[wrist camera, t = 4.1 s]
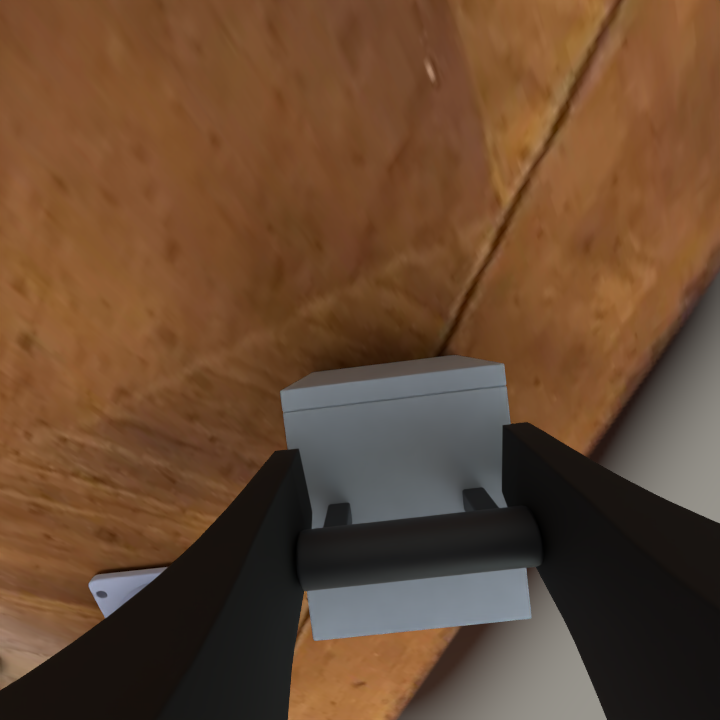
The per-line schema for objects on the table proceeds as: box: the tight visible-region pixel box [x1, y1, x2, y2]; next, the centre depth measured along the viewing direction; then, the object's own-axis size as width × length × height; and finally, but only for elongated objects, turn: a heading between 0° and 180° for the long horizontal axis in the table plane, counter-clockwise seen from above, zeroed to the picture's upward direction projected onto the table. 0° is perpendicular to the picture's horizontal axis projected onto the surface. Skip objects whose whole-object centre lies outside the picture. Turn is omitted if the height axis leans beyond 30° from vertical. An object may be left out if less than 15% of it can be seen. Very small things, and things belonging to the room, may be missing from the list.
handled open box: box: [280, 355, 544, 641], centre depth 13 cm, size 7×6×9 cm
